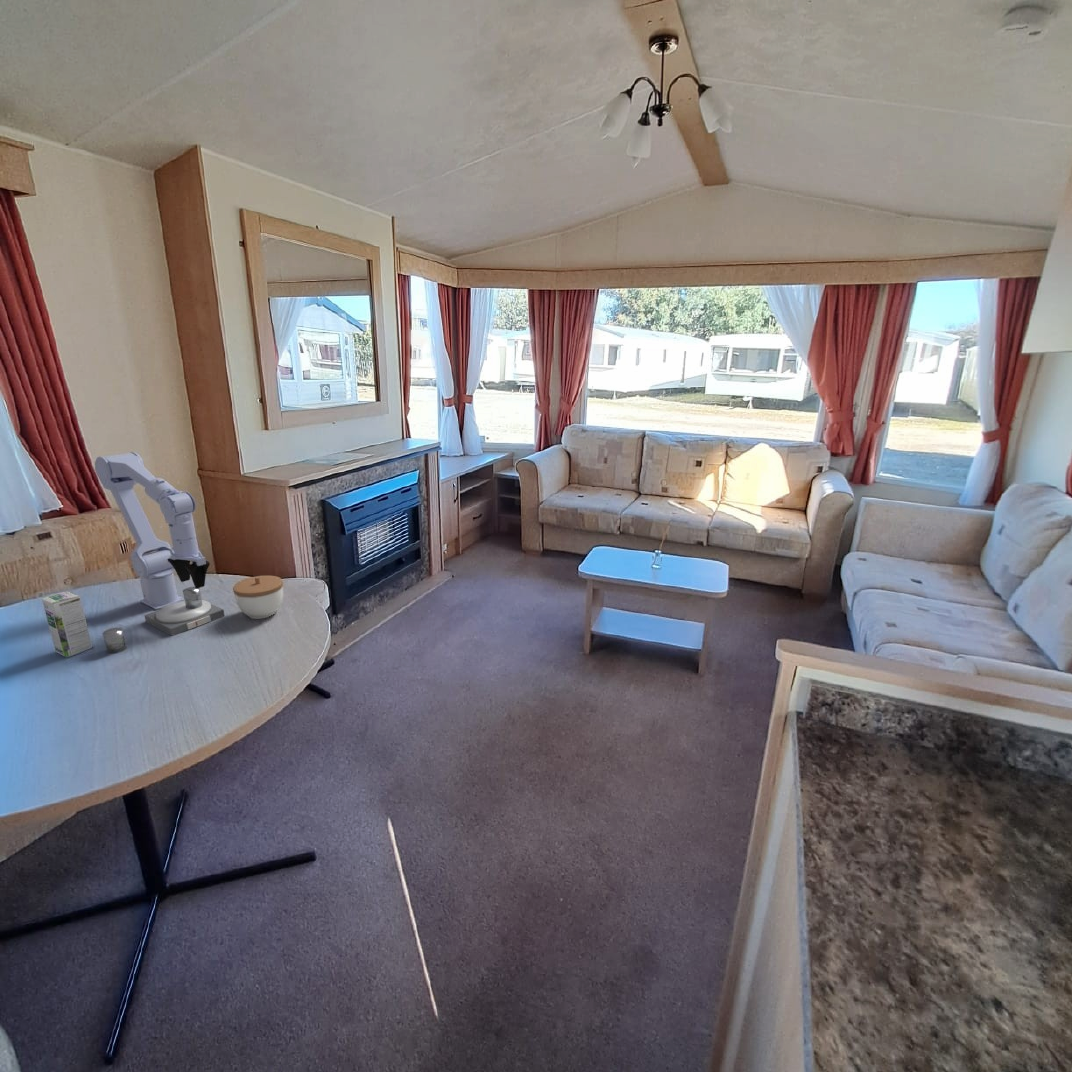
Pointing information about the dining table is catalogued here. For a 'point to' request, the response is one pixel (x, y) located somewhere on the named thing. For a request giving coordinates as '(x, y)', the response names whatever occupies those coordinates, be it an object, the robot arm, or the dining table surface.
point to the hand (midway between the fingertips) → (192, 583)
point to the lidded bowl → (259, 596)
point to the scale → (183, 617)
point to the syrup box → (67, 623)
